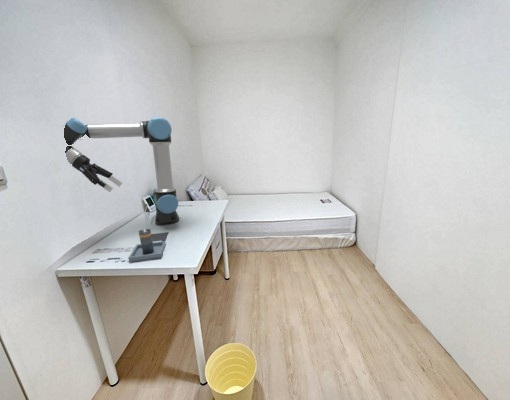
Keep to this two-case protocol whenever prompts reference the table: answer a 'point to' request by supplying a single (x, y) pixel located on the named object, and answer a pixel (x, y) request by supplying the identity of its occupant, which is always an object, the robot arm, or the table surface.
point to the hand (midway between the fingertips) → (116, 187)
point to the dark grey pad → (159, 237)
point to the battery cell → (146, 241)
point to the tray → (139, 256)
